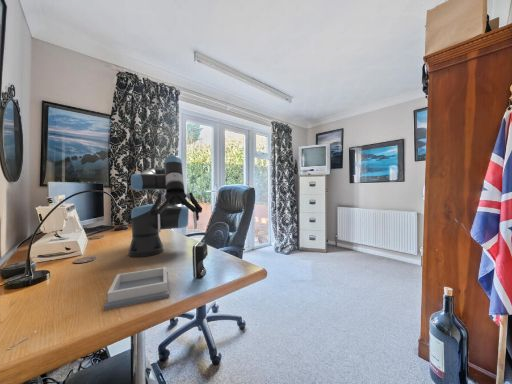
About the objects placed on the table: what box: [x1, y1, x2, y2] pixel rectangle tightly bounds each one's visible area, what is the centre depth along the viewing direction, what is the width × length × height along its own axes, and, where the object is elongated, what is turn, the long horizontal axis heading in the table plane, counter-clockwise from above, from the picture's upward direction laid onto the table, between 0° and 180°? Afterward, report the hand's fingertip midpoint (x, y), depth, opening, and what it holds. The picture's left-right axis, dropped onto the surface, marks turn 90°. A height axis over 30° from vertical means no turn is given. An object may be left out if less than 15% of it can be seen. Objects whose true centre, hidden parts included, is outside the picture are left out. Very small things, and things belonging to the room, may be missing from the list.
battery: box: [191, 241, 208, 279], centre depth 79 cm, size 7×4×11 cm, turn 178°
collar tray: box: [103, 266, 170, 311], centre depth 69 cm, size 18×16×4 cm
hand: (178, 229), depth 87 cm, fingers open, 13 cm apart
